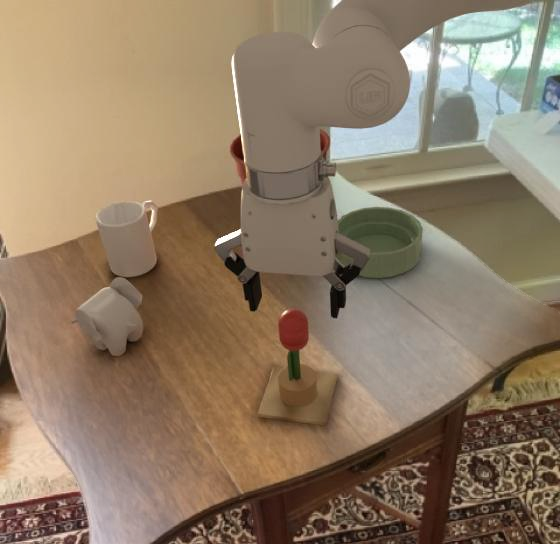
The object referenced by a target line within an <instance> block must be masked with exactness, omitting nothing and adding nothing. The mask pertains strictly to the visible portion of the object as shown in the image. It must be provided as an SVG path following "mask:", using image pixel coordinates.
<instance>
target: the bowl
mask: <svg viewBox="0 0 560 544" xmlns="http://www.w3.org/2000/svg"><path fill="white" fill-rule="evenodd" d="M338 228H339V234H341V235H343V236H345V237H347V238H349V239H351V240H353V241H355V242H357V243H359V244H361V245H363V246H365V247H367V248H369V249H370V250H371V253H370V257H369V260H368V262H367V263H366V265H365V266H364V268H363V269H362V270H361V272H360V274H359V276H360V277H364V278H374V279H382V278H391V277H396V276H398V275H401V274H405V273H407V272H408V271H410V270H412V269H413V268H414V267H415V266H416V265H417V264H418V263H419V261H420V259H421V253H422V243H423V231H424V229H423V225H422V223H421V222H420V220H418V219H417V218H416V217H415V216H414V215H412V214H410V213H409V212H406V211H404V210H403V209H398V208H393V207H386V206H371V207H363V208H359V209H356V210H352V211H350V212H348V213H346V214H343V215H342V216H341V217H340V218H339V219H338ZM335 257H336V258H337V259H338V260H339V261H340V262H341V263H342V264H343V265H344V266H347V265H348V264H349V263H350V262H352V261H353V260H354V259H353V258H352V257H350V256H348V255H346V254H344V253H342V252H340V251H339V254H338V255H335Z"/></svg>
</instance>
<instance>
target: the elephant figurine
mask: <svg viewBox="0 0 560 544" xmlns="http://www.w3.org/2000/svg"><path fill="white" fill-rule="evenodd" d="M142 301H143V294H142V293H141V292H140V291H139V290H138V289H137V288H136V287H135V286H134V285H133V284H132V283H131V282H130V281H128V280H127V279H126V277H122V276H117V277H115V278H114V279H112V281H111V282H110V284H109V286H105V287H103V288H101V289H100V290H98V291H97V292H96V293H95V294H94V295H92V296H91V297H90V298H88V299H87V300H86V301H85V302H84V303H82V304H80V305H79V306H78V307H77V308H76V309H74V312H75V317H76V318H75V319H74V320H71V321H70V324H76V323H78V326H79V327H80V329H81V332H82V334H83V336H84V337H89V339H90V341H91V342H92V343H93V345H94V346H95V347H96V349H98V350H100V351H106V350H108V352H109V353H110V355H112V357H120V356H122V355H123V354H125V352H126V350H127V341H129V342H137V341H139V340H140V339H141V338H142V336H143V332H144V322H143V320H142V317H141V315H140V313H139V312H138V311H137V309H138V308H139V306H141V305H142Z"/></svg>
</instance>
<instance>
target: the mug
mask: <svg viewBox="0 0 560 544" xmlns="http://www.w3.org/2000/svg"><path fill="white" fill-rule="evenodd" d="M148 208H149V209H150V210H151V216H150V222H149V219H148V215H147V210H146V209H148ZM158 211H159V206H158V205H156V204H155V202H153V200H145V201H143V202H142V203H140V202H137V201H134V200H120V201H114V202H111V203H109V204H107V205H105V206H103V207H102V208H100V209H99V210H98V211H97V213H96V214H95V217H94V218H95V219H94V220H95V223H96V226H97V229H98V233H99V236H100V240H101V242H102V246H103V249H104V252H105V257H106V259H107V262H108V266H109V270H110V272H112V273H113V274H114V275H116V276H117V277H122V278H133V277H139V276H142V275H144V274H146V273H148V272H150V271H151V270H152V269H153V268H154V267H155V266H156V265H157V261H158V256H157V254H156V247H155V243H154V240H153V236H152V232H153V231H154V229H155V227H156V225H157V221H158Z"/></svg>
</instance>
